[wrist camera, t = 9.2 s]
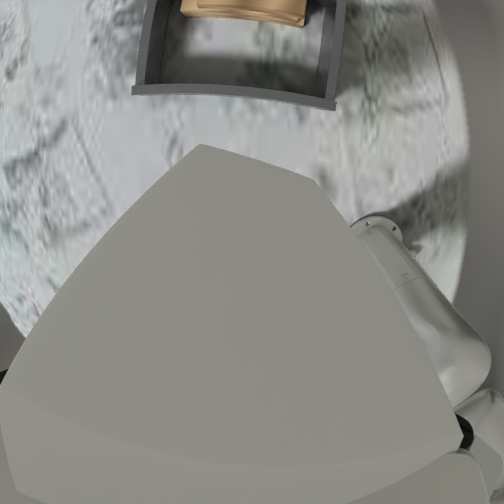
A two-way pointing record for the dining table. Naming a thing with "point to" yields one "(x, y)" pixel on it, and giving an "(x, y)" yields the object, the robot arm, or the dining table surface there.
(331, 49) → the dark grey tray
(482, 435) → the robot arm
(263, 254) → the milk carton
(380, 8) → the dining table surface
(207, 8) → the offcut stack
